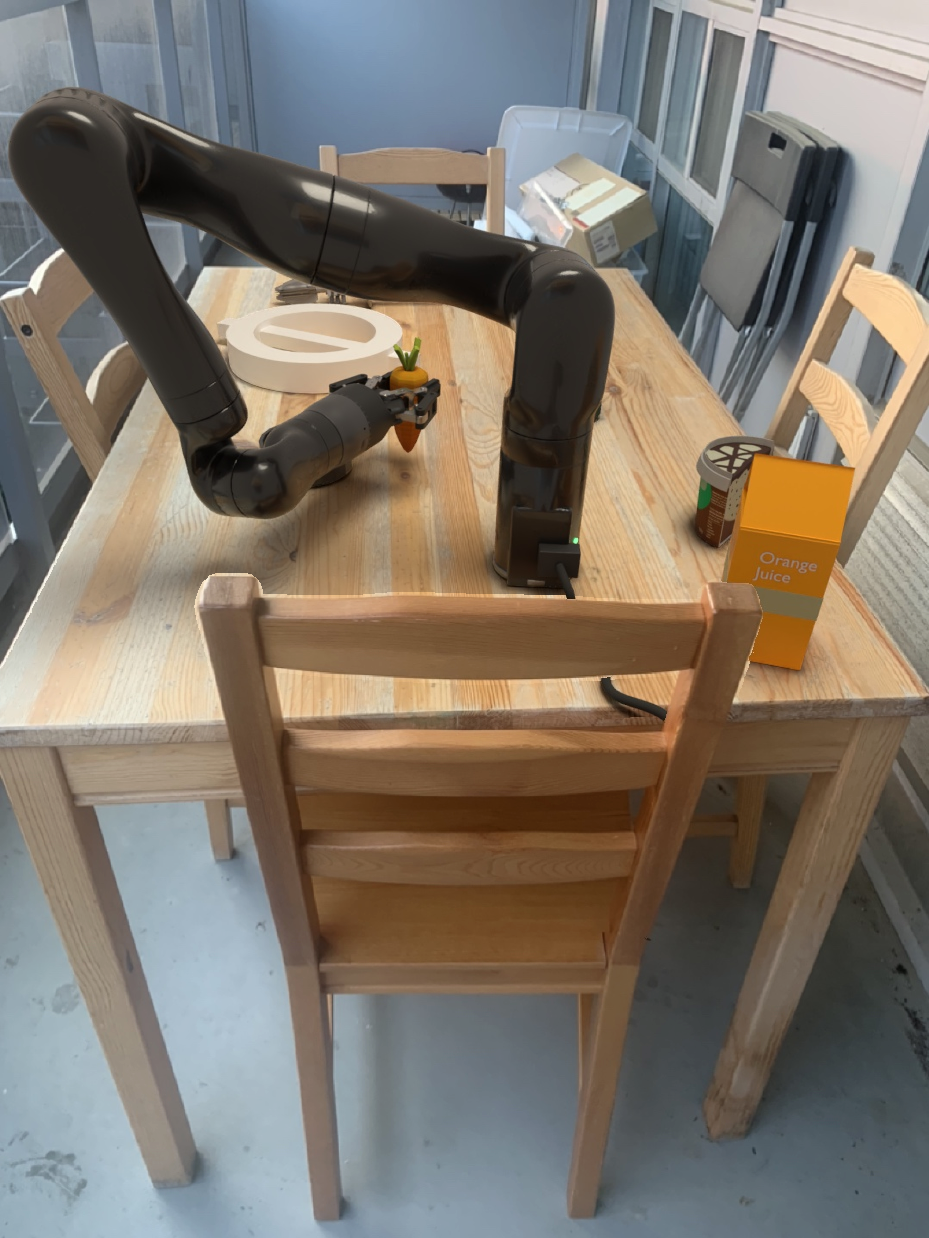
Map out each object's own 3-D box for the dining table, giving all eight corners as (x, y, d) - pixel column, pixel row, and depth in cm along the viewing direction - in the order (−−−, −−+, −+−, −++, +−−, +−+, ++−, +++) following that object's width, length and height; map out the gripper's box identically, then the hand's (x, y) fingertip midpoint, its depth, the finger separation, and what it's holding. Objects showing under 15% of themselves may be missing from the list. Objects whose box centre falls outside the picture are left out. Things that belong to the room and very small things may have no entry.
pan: (346, 491, 115) (345, 462, 113) (253, 487, 115) (249, 458, 113) (358, 449, 125) (357, 422, 122) (272, 445, 125) (269, 418, 122)
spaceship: (463, 272, 166) (459, 244, 170) (270, 290, 165) (271, 262, 169) (465, 307, 173) (461, 279, 177) (279, 325, 172) (280, 297, 176)
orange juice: (800, 671, 89) (859, 488, 77) (708, 653, 91) (752, 472, 79) (799, 625, 95) (854, 449, 83) (712, 610, 97) (754, 435, 85)
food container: (713, 497, 117) (729, 424, 111) (758, 513, 114) (777, 439, 108) (665, 534, 109) (679, 458, 103) (712, 553, 106) (730, 475, 100)
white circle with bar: (426, 381, 145) (426, 352, 142) (248, 402, 136) (244, 371, 133) (373, 324, 165) (373, 297, 162) (216, 339, 156) (212, 311, 154)
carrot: (393, 462, 118) (394, 347, 109) (385, 445, 122) (385, 333, 113) (430, 459, 119) (434, 345, 111) (422, 443, 123) (424, 332, 114)
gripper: (394, 410, 100) (468, 364, 112) (288, 381, 105) (370, 340, 117) (394, 472, 104) (466, 422, 117) (292, 442, 109) (371, 396, 122)
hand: (417, 381), depth 117 cm, fingers closed on carrot, 5 cm apart
